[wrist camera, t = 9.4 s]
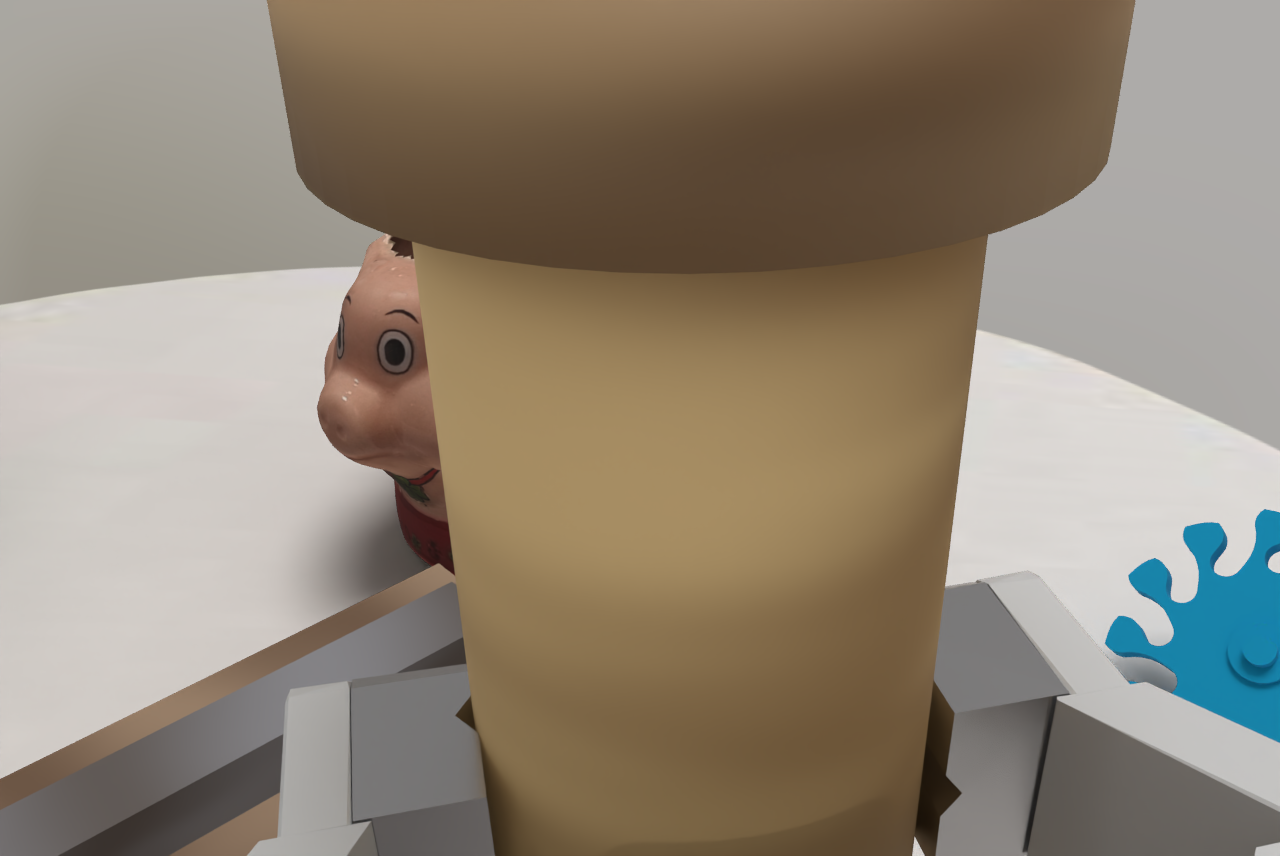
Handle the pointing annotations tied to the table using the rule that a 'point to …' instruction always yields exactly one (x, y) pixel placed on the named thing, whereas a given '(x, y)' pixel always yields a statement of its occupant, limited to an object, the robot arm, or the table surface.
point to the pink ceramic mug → (389, 394)
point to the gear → (1218, 629)
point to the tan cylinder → (700, 370)
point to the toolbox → (218, 739)
